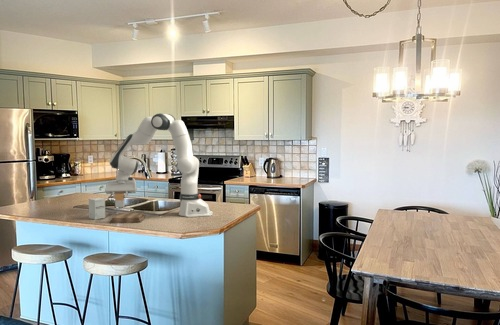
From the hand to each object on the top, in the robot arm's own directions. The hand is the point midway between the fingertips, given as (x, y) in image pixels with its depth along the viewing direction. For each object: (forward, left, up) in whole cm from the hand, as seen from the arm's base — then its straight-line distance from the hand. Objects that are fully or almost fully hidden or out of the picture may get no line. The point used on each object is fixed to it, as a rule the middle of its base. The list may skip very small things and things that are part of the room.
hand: (119, 198), depth 246 cm
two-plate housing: (0, -1, -6) cm, 6 cm away
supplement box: (+12, +7, -12) cm, 19 cm away
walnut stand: (-9, +14, -11) cm, 20 cm away
